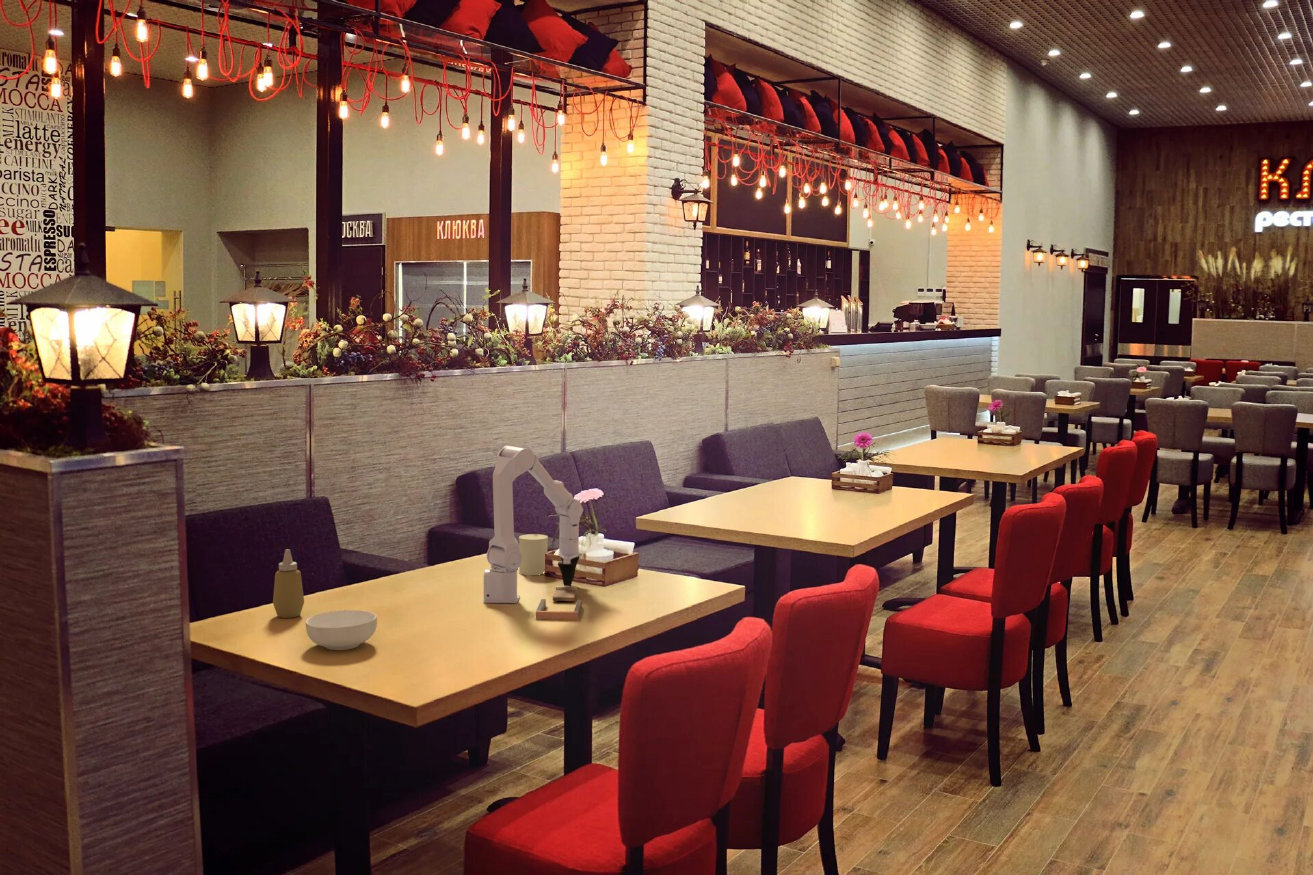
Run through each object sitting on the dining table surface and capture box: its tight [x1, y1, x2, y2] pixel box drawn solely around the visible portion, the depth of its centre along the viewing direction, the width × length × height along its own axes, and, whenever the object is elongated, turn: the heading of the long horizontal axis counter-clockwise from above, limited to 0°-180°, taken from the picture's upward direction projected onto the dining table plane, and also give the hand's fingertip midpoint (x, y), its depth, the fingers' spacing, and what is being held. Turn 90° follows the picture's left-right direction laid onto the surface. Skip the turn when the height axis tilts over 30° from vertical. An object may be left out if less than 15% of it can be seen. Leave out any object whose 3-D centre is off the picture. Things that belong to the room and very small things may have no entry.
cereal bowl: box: [305, 609, 378, 651], centre depth 285 cm, size 17×17×7 cm
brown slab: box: [552, 585, 578, 603], centre depth 335 cm, size 6×10×2 cm, turn 179°
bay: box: [535, 598, 583, 621], centre depth 319 cm, size 11×14×2 cm
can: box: [518, 533, 549, 576], centre depth 368 cm, size 9×9×12 cm
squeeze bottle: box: [272, 548, 305, 619], centre depth 311 cm, size 8×8×18 cm
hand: (568, 582), depth 348 cm, fingers open, 7 cm apart
